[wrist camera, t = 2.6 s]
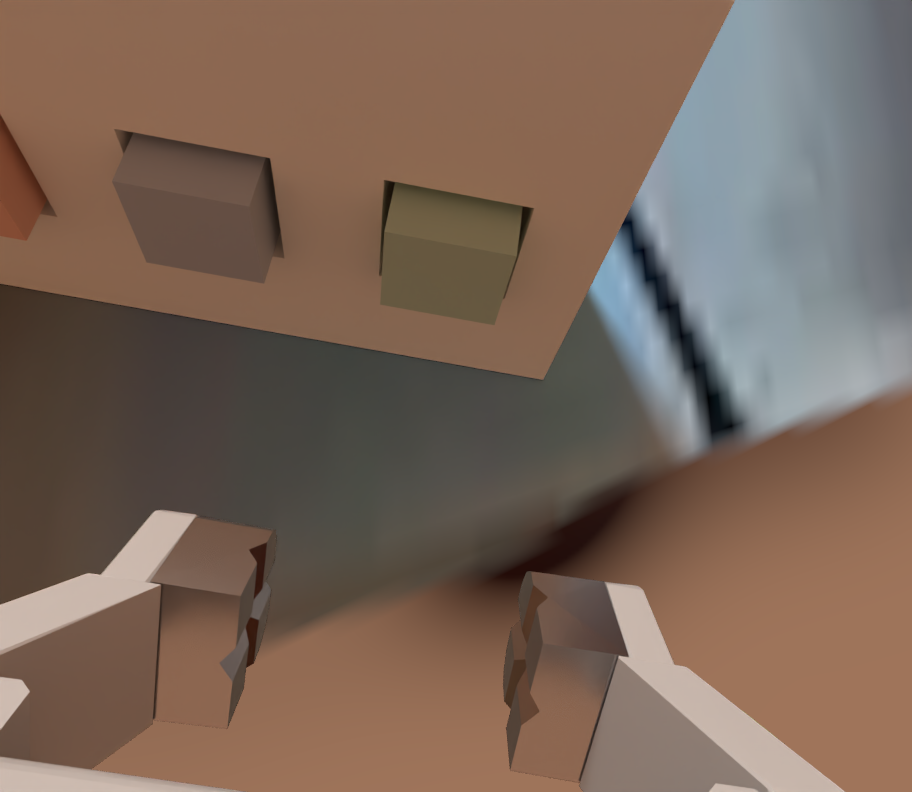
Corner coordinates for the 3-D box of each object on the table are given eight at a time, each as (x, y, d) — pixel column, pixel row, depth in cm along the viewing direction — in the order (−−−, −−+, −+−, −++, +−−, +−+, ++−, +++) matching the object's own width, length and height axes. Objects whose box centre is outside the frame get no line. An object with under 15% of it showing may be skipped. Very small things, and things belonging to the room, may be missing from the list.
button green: (380, 304, 26) (384, 231, 22) (392, 246, 27) (398, 168, 23) (494, 325, 26) (516, 256, 22) (501, 266, 27) (524, 192, 23)
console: (-74, 270, 31) (-551, -265, 14) (4, 129, 34) (-309, -427, 18) (543, 379, 32) (734, 0, 16) (556, 233, 35) (723, -199, 19)
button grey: (146, 262, 25) (111, 181, 22) (169, 205, 26) (139, 118, 23) (264, 283, 25) (249, 206, 22) (281, 226, 26) (270, 143, 23)
